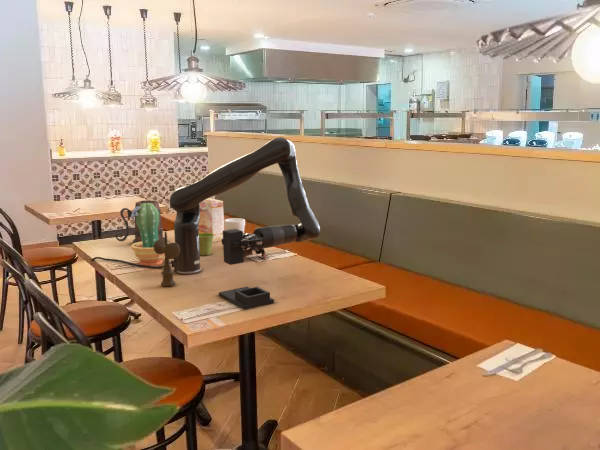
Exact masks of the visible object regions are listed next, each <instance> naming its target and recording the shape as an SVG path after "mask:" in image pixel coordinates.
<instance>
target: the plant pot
mask: <svg viewBox="0 0 600 450" xmlns="http://www.w3.org/2000/svg"><path fill="white" fill-rule="evenodd" d="M213 236H214V234H212V233H199V246H200V257H201V256H209V255H211V254H212V250H213V242H212V240H213Z"/></svg>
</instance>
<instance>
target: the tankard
mask: <svg viewBox="0 0 600 450" xmlns="http://www.w3.org/2000/svg"><path fill="white" fill-rule="evenodd" d="M143 203H146V204H147V203H150V204H151V203H152V204H153V205H154V206H155V207H156V208H157V210H158V212H159V225H158V240H160V239H164V240H165V236H164V230H163V229H164V228H163V226H162V215H161V213H162V210H161V208H160V203H159V201H158V200H150V199H149V200H148V199H147V200H139V201H136V202H135V205H134V208H135V207H137V206H140V205H141V204H143ZM125 211H127V216H126V218H127V219H131V214H132V212H133V211H132V210H130V209H129V208H128V207H124V208H121V210H120V216H121V218H122V220H123V221H124V224H125V234H124V236H123V233H122V232H120V231H117V232H116V233H115V234H114V236H115V239H116V240H117V241H118V242H125V241H126V240H127V238H128V236H129V232H130V228H129V223H128V221H127V220H126V218H125V216H124V212H125ZM119 235H120V236H119ZM141 241H142V238H141V234H140V230H139V228H138V226H137V223H136V216H135V217H134V239H133V240H132V242H131V243H130V246H131V245H132V244H133V243H137V242H141Z"/></svg>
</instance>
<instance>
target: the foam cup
mask: <svg viewBox="0 0 600 450" xmlns="http://www.w3.org/2000/svg"><path fill="white" fill-rule="evenodd" d="M245 227H246V218H245V219H244V218H241V217H240V218H239V217H231V218H226V219H224V230H231V229H238V230H241V231H243V233H244V234H245Z"/></svg>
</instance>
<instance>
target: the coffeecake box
mask: <svg viewBox="0 0 600 450" xmlns="http://www.w3.org/2000/svg"><path fill="white" fill-rule="evenodd" d="M224 220H225V215H224V201H223V200H221V199H215V198H212V197H210V198H208V199H206V200H204V201H202V202H200V220H199V233H212V234H214V236H213V240H212V243H215V242H222V239H223V231H224V230H225V226H224Z"/></svg>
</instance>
